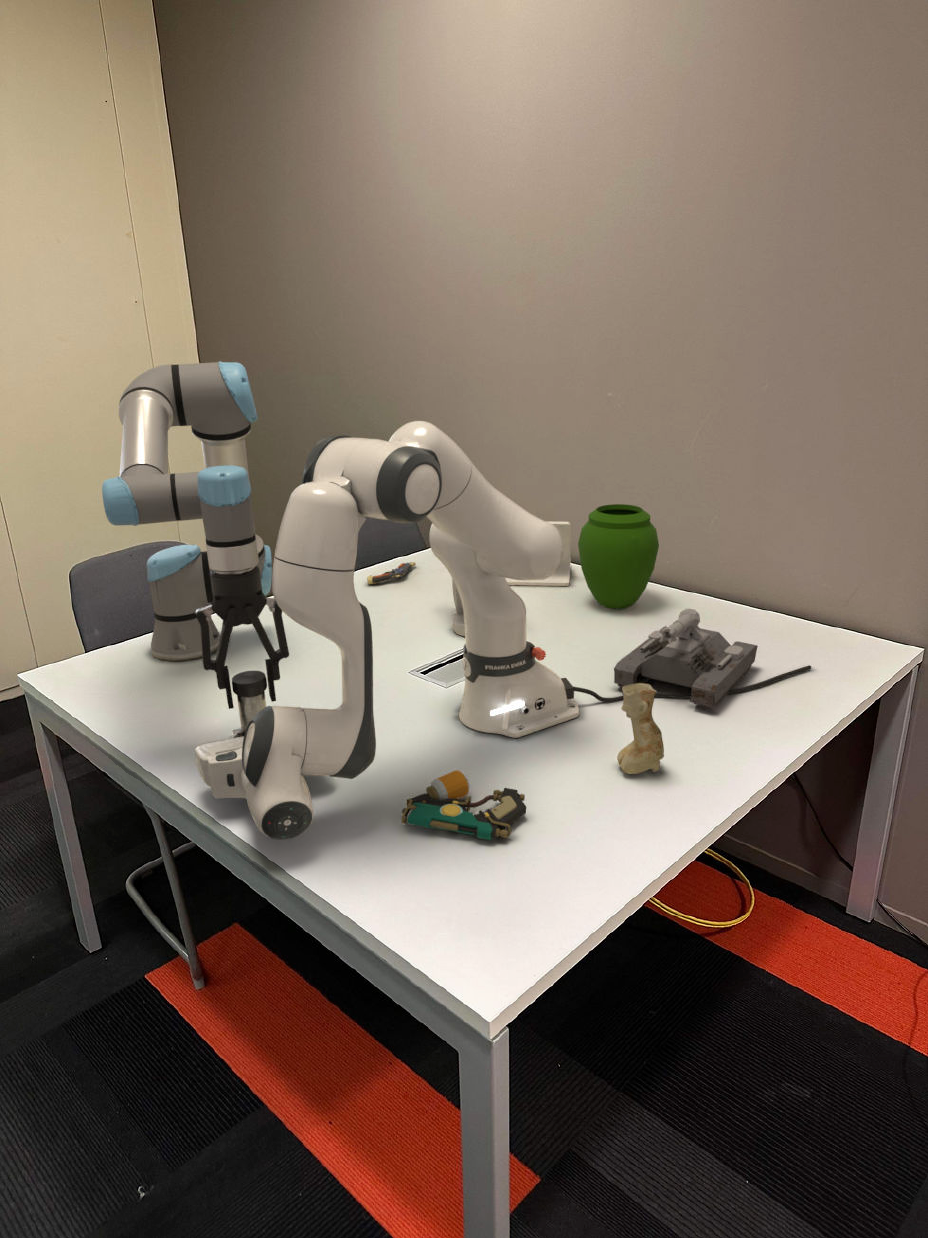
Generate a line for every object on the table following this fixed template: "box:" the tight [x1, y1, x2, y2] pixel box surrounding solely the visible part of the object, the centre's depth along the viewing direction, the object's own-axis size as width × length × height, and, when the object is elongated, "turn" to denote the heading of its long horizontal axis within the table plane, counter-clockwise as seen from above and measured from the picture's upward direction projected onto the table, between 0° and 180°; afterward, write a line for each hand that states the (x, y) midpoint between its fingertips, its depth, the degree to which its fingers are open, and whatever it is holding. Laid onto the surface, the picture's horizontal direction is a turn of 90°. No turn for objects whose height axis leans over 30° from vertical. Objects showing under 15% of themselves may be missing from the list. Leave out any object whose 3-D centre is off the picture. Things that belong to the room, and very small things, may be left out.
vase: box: [577, 503, 660, 610], centre depth 210 cm, size 20×20×24 cm
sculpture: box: [616, 683, 665, 775], centre depth 137 cm, size 6×7×15 cm
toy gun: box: [366, 561, 417, 585], centre depth 241 cm, size 3×19×10 cm
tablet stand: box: [505, 521, 572, 587], centre depth 236 cm, size 18×25×17 cm
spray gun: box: [401, 769, 527, 841], centre depth 128 cm, size 4×17×15 cm
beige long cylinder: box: [236, 690, 267, 736], centre depth 142 cm, size 4×4×16 cm
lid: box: [231, 670, 268, 696], centre depth 140 cm, size 6×6×2 cm
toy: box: [613, 607, 758, 709], centre depth 170 cm, size 25×20×15 cm
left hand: (251, 701), depth 141 cm, fingers open, 6 cm apart
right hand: (254, 729), depth 143 cm, fingers closed on beige long cylinder, 4 cm apart
